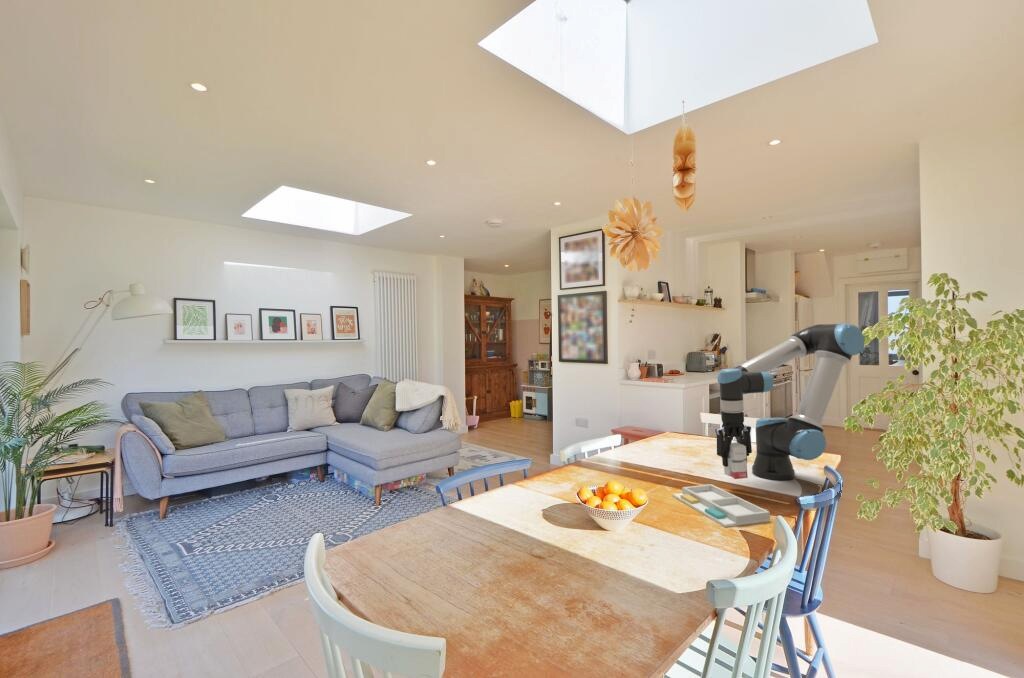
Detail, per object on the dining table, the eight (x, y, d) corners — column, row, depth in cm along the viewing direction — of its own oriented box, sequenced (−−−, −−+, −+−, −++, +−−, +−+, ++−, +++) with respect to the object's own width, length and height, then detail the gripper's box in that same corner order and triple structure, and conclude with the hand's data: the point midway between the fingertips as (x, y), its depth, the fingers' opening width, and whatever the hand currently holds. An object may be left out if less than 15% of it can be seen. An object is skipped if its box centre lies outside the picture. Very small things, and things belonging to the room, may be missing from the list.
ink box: (749, 478, 166) (746, 445, 165) (735, 479, 165) (732, 446, 165) (737, 471, 174) (734, 439, 174) (723, 472, 174) (721, 441, 174)
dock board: (711, 491, 170) (711, 484, 170) (770, 521, 143) (769, 512, 143) (672, 496, 166) (672, 488, 166) (725, 527, 139) (724, 518, 139)
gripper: (746, 407, 175) (749, 468, 176) (703, 411, 171) (706, 474, 171) (761, 410, 168) (764, 473, 168) (716, 415, 164) (720, 480, 164)
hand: (735, 473), depth 170 cm, fingers closed on ink box, 6 cm apart
